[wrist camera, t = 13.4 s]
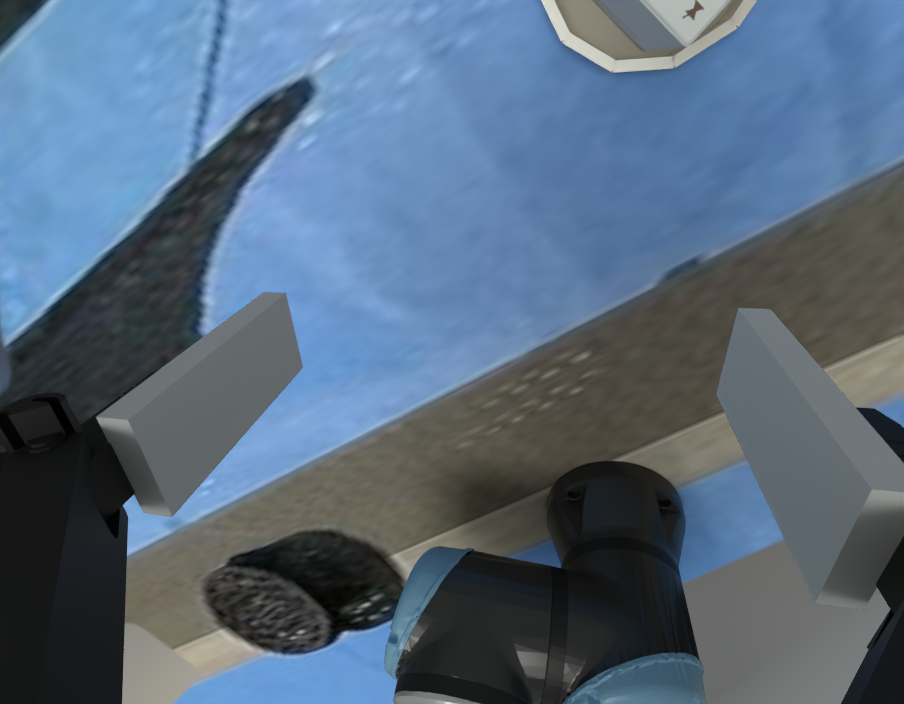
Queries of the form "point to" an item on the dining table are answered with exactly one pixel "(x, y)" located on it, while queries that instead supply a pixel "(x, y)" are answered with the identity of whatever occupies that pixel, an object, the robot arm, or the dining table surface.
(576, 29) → the bowl
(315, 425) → the dining table surface
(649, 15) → the supplement box
